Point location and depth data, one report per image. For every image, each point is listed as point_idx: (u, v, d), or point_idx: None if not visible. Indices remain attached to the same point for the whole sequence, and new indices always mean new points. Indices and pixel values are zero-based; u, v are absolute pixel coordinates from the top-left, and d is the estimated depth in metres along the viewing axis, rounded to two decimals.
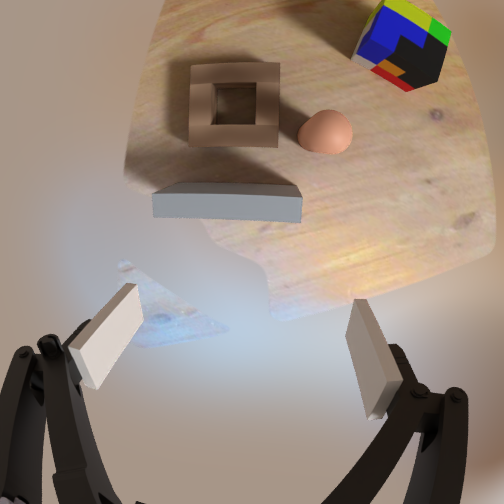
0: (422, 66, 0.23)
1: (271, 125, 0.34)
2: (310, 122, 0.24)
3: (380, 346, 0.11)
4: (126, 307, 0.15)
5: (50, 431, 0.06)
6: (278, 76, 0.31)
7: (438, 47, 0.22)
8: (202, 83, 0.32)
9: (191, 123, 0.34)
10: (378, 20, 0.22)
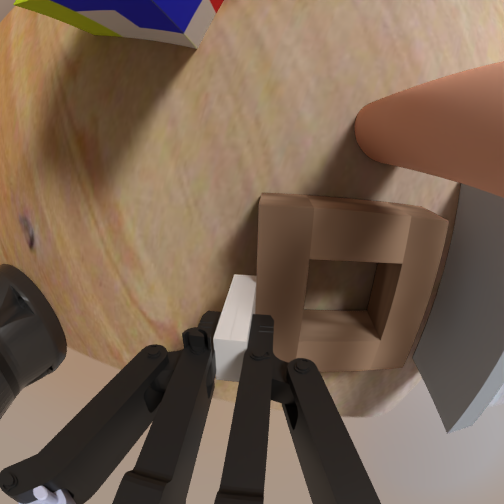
0: None
1: (409, 231, 0.15)
2: None
3: (242, 312, 0.14)
4: None
5: (152, 426, 0.07)
6: (297, 209, 0.15)
7: None
8: (296, 354, 0.19)
9: (367, 366, 0.19)
10: None
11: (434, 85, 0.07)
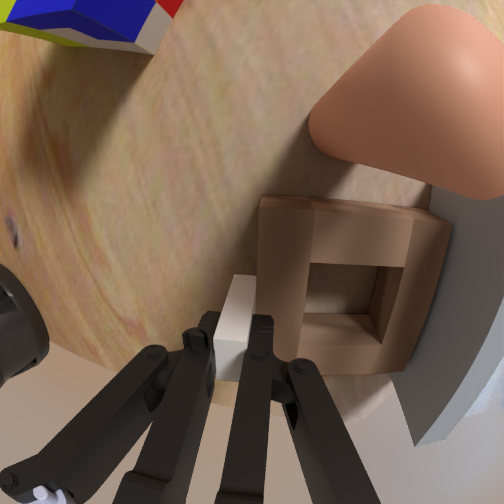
0: None
1: (411, 234, 0.15)
2: (450, 180, 0.04)
3: (243, 312, 0.14)
4: None
5: (153, 426, 0.08)
6: (297, 212, 0.15)
7: None
8: (296, 358, 0.18)
9: (367, 370, 0.18)
10: (32, 13, 0.06)
11: (353, 64, 0.07)
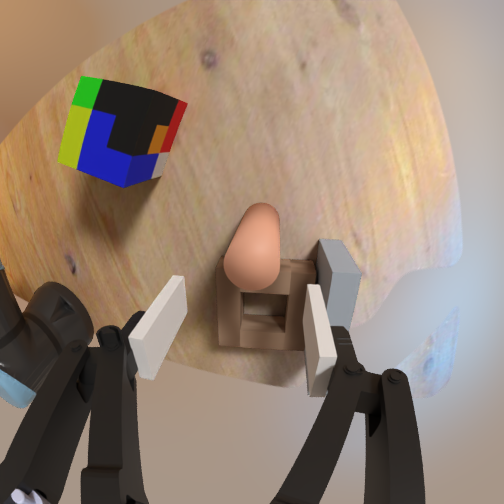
0: (140, 114, 0.22)
1: (290, 279, 0.33)
2: (241, 287, 0.23)
3: (321, 325, 0.13)
4: (176, 298, 0.16)
5: (91, 423, 0.07)
6: None
7: (107, 92, 0.22)
8: (240, 337, 0.37)
9: (281, 347, 0.37)
10: (97, 176, 0.25)
11: (236, 233, 0.26)
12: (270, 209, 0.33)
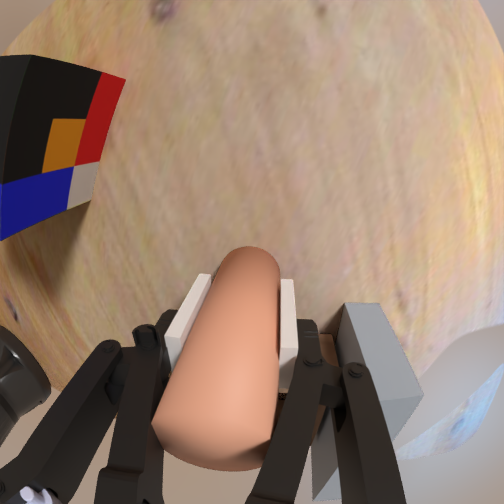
0: (9, 104, 0.08)
1: None
2: (197, 465, 0.09)
3: (287, 318, 0.13)
4: (205, 296, 0.16)
5: (117, 423, 0.07)
6: None
7: None
8: None
9: None
10: None
11: (186, 344, 0.11)
12: (264, 264, 0.18)
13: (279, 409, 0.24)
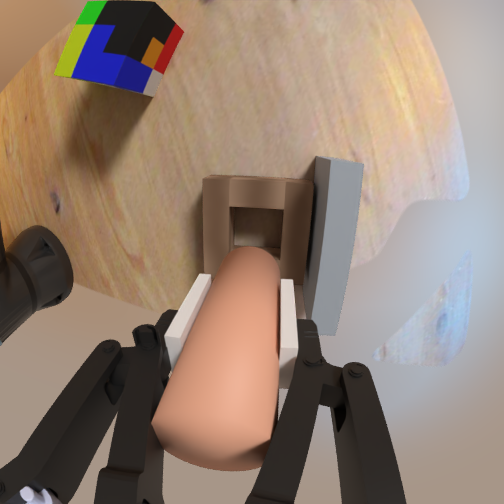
0: (138, 21, 0.18)
1: (285, 190, 0.30)
2: (197, 464, 0.09)
3: (287, 318, 0.13)
4: (205, 296, 0.16)
5: (117, 423, 0.07)
6: (221, 180, 0.30)
7: (110, 9, 0.18)
8: None
9: None
10: (90, 79, 0.21)
11: (186, 343, 0.11)
12: (264, 263, 0.18)
13: (275, 251, 0.35)
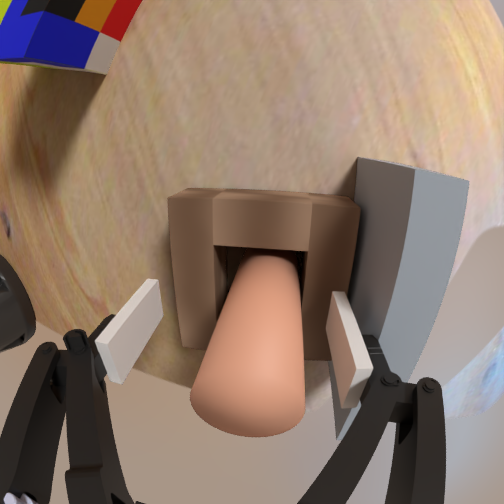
0: None
1: (311, 219, 0.17)
2: (229, 431, 0.10)
3: (353, 335, 0.12)
4: (149, 302, 0.15)
5: (68, 426, 0.07)
6: (198, 201, 0.17)
7: None
8: None
9: None
10: (2, 56, 0.09)
11: (220, 319, 0.13)
12: (284, 253, 0.20)
13: None
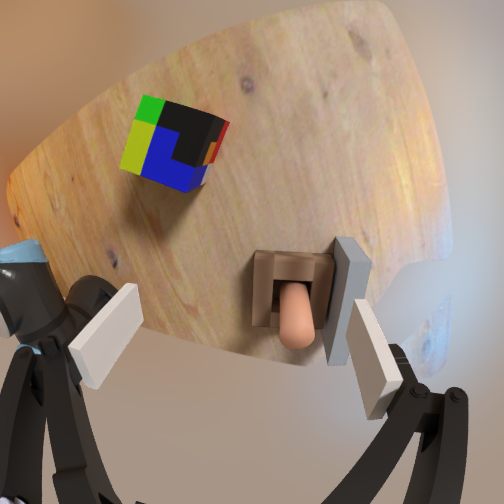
0: (202, 134, 0.30)
1: (314, 268, 0.41)
2: (289, 347, 0.35)
3: (380, 346, 0.11)
4: (126, 307, 0.15)
5: (50, 430, 0.06)
6: (268, 261, 0.41)
7: (171, 112, 0.29)
8: (270, 318, 0.45)
9: None
10: (161, 182, 0.33)
11: (283, 309, 0.38)
12: (301, 281, 0.44)
13: None
